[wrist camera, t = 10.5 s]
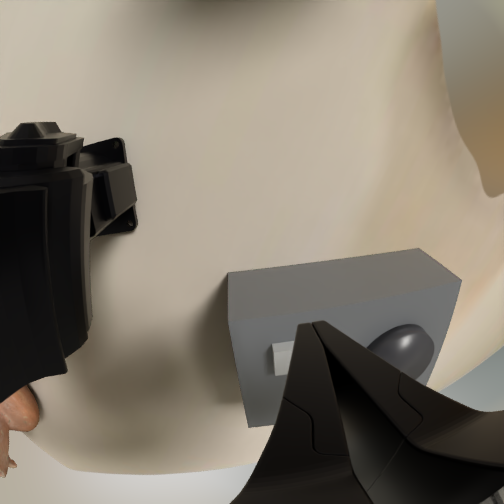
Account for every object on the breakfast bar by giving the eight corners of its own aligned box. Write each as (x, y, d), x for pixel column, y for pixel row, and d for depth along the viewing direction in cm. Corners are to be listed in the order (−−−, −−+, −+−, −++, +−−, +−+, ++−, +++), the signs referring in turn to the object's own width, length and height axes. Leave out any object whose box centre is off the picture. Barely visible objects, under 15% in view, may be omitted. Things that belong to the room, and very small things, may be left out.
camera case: (244, 376, 25) (249, 439, 19) (228, 272, 21) (227, 334, 14) (399, 346, 26) (431, 394, 19) (419, 248, 21) (472, 288, 15)
